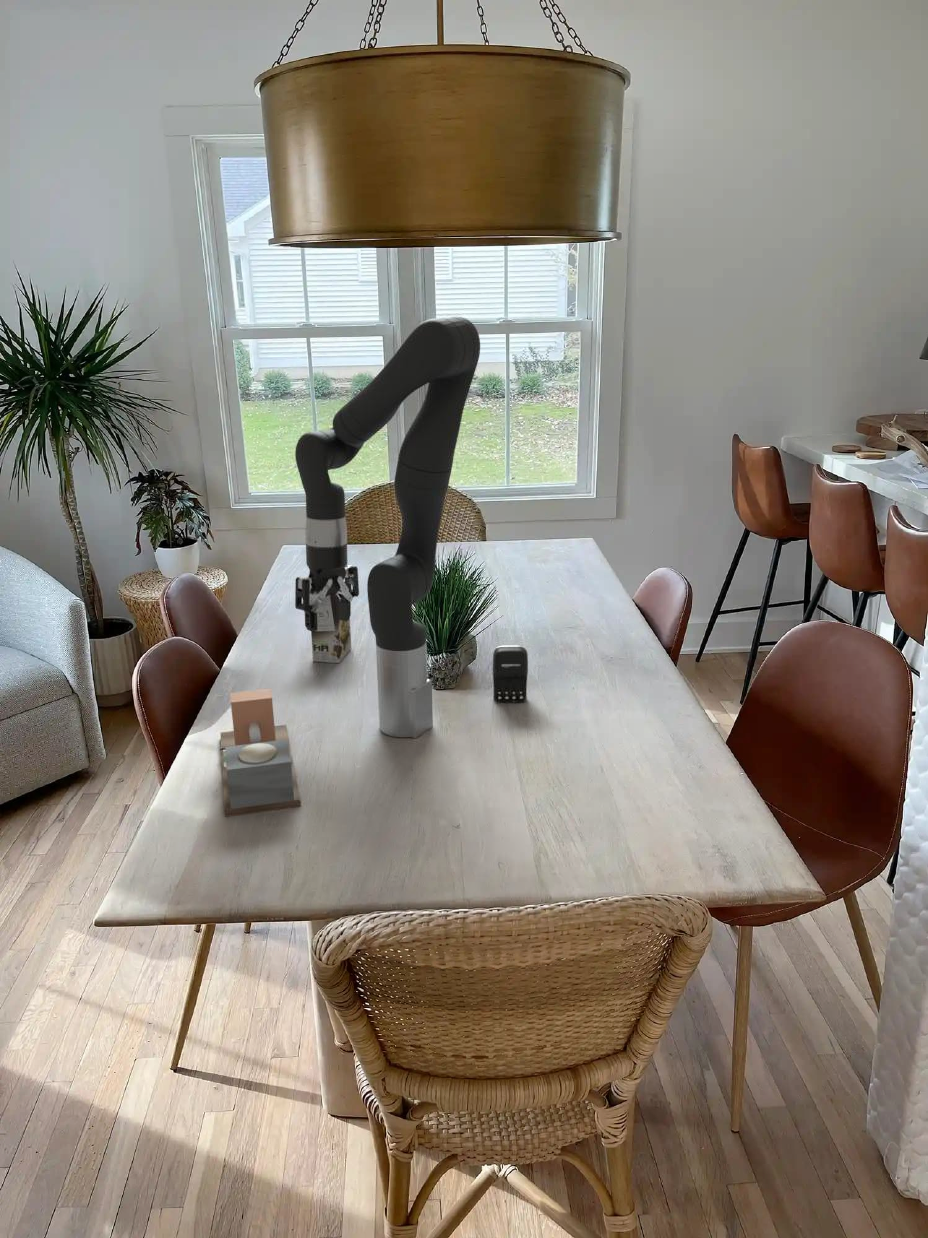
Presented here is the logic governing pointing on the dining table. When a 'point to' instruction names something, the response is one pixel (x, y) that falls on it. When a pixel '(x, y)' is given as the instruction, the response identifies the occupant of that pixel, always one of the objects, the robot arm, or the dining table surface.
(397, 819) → the dining table surface
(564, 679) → the dining table surface
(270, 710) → the block on disc stand
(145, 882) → the dining table surface
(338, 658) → the coffee box
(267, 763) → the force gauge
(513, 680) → the black battery charger
